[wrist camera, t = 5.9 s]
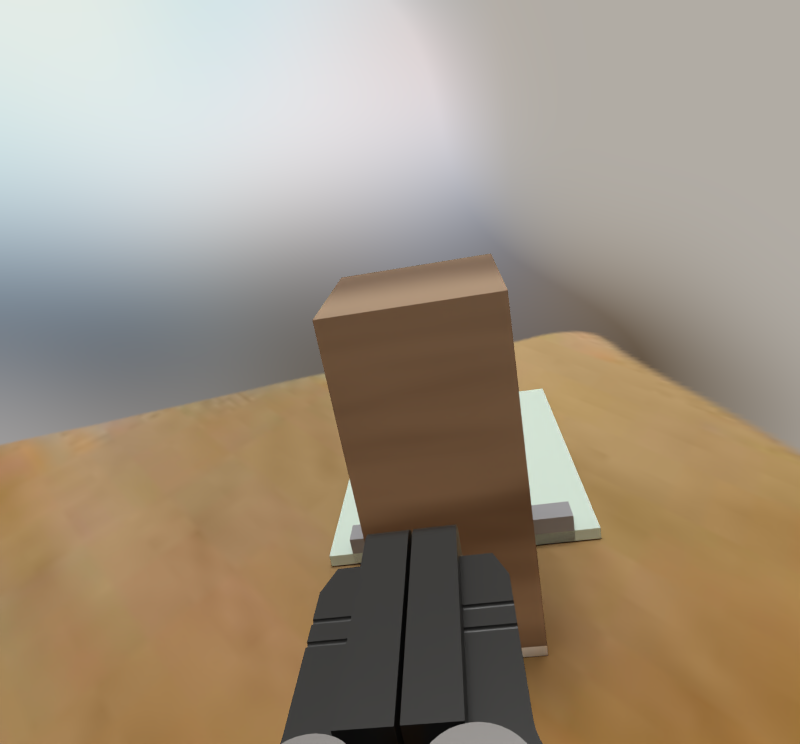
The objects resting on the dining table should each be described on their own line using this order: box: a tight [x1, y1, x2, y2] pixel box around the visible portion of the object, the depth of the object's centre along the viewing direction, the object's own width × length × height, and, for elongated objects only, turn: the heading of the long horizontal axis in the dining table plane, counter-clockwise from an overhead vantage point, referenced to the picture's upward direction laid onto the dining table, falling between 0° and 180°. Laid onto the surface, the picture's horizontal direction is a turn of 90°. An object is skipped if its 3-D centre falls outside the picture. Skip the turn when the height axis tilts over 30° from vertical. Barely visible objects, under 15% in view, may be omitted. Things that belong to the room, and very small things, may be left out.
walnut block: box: [313, 254, 548, 657], centre depth 19 cm, size 5×5×12 cm
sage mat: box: [330, 389, 601, 566], centre depth 31 cm, size 14×11×1 cm
